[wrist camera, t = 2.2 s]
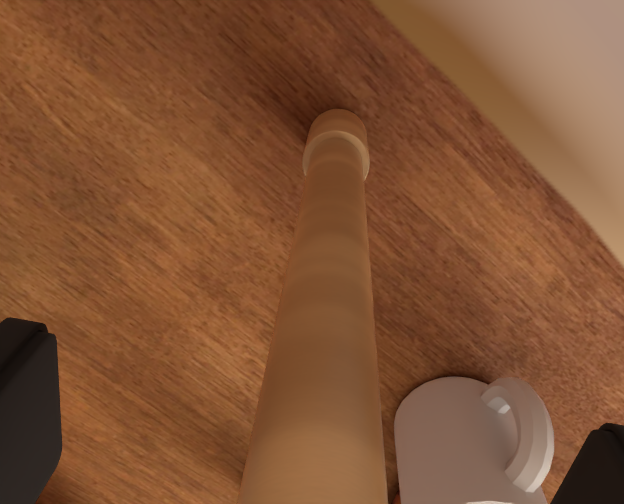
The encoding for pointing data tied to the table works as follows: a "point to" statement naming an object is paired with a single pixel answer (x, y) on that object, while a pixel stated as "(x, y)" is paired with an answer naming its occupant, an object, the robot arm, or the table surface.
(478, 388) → the cup
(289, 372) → the muddler
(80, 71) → the table surface
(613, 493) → the robot arm
